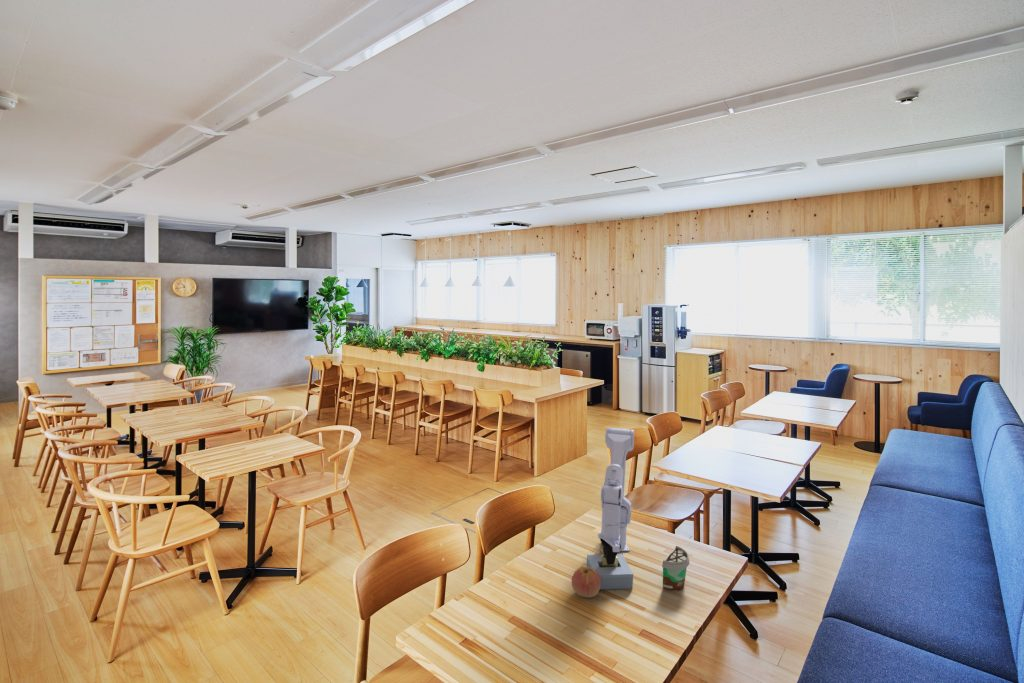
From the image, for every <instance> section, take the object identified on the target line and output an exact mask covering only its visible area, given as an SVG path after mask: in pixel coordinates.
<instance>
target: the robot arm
mask: <svg viewBox="0 0 1024 683" xmlns="http://www.w3.org/2000/svg"><path fill="white" fill-rule="evenodd" d="M604 437H605V439H604V440H605V442H604V443H605V444H606V447H607V448H608V449H610V465H608V466H606V469H605V475H604V476H605V477H604V480H603V481H604V483H603V485H602V486H601V490H600V500H601V501H600V502H601V509H602V510H601V511H602V512H601V532H600V533H597V538H598V539H599V541H600V542H601V545H602V546H601V547H602V550H603V554H604V555H606V561H607V564H614V562H615V559H616V556H617V554H619V553H620V552H630V548H629V546H628V544H627V526H628V525H630V524H631V520H632V503H631V501H630V500H629V499H628V498H627V497H626V496H625V482H626V479H625V478H626V462H627V461H626V460H627V455H628V453H629V452H631V451H633V450H634V446H635V445H634V444H635V430H634V429H629V428H618V427H610V426H607V427H606V429H605V435H604Z"/></svg>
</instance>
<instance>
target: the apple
mask: <svg viewBox="0 0 1024 683" xmlns="http://www.w3.org/2000/svg"><path fill="white" fill-rule="evenodd" d="M571 586H572V590H573V591H574V592H575V594H577V595H578V596H580V597H583V598H588V599H589V598H594V597H596V596H597V595H598V593H599V591H600V590H599V589H600V586H601V579H600V575H599V573H598V572H597V571H596V570H595V569H593V568H591V567H587V566H580V567H579V568H577V569H576V570H575V571H574V572H573V574H572V576H571Z"/></svg>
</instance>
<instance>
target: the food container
mask: <svg viewBox="0 0 1024 683" xmlns="http://www.w3.org/2000/svg"><path fill="white" fill-rule="evenodd" d="M689 564H690V557H689V555H688V552H687V551H686V550H685V549H683V548H682V547H680V546H677V545H675V548H674V550H673V551H672V552H671V553H670V554H669V555H668V557H667V558H666V559H665V560H664V559H663V560H662V565H661V567H662V589H663V590H665V591H671V592H672V591H673V592H677V591H681V590H683V589H684V587H685V581H686V576H687V575H686V574H687V568H688V566H689Z"/></svg>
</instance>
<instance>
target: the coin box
mask: <svg viewBox="0 0 1024 683" xmlns="http://www.w3.org/2000/svg"><path fill="white" fill-rule="evenodd" d="M601 555H604V553H603V554H587V555H586V567H591V568H593V569H595V570H596V571H597V572H598V573H599V575H600V579H601V586H600V589H599V591H611V590H614V591H617V590H633V585H634V584H633V583H634V573H633V571H632V569H631V568H630V565H629V564H628V562H627V560H626V558H625V556H624V555H623V554H622V553H617V557H618V567H603V568H601Z"/></svg>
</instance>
